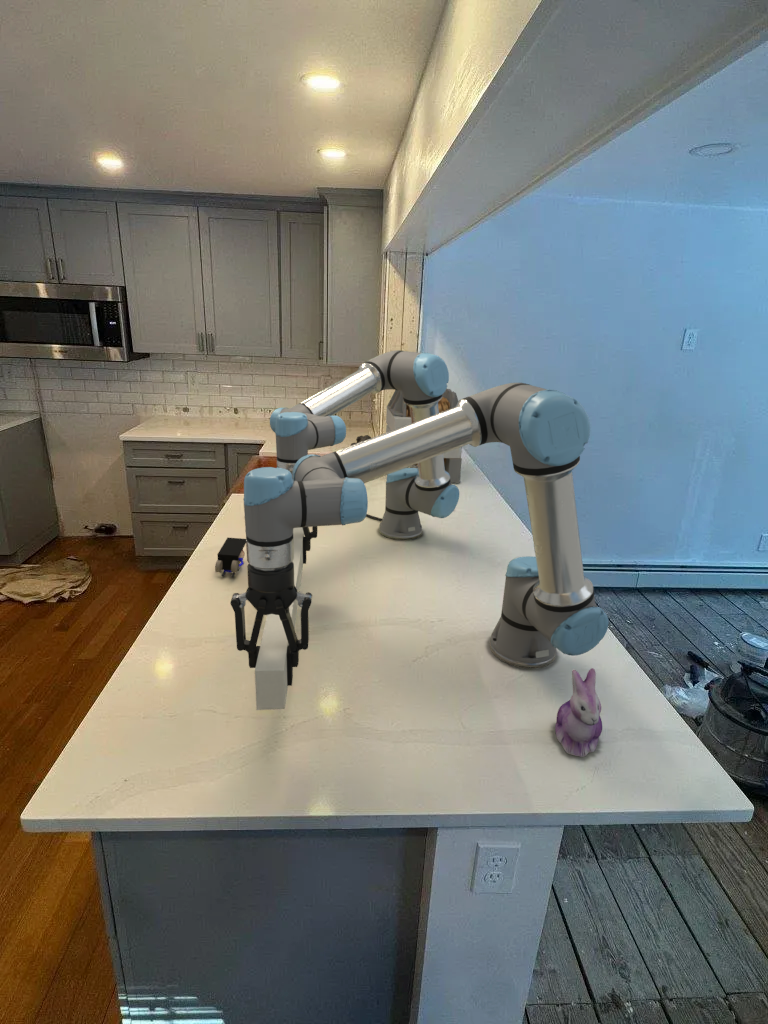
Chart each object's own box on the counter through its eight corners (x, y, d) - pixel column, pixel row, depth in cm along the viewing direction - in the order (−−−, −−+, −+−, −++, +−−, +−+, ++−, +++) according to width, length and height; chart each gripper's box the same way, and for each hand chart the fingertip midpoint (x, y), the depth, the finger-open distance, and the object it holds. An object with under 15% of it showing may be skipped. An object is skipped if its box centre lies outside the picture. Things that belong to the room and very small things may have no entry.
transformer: (382, 463, 289) (386, 382, 275) (445, 464, 293) (451, 384, 279) (390, 482, 257) (394, 392, 243) (460, 483, 261) (468, 394, 247)
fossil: (347, 441, 314) (368, 426, 309) (358, 454, 317) (379, 439, 312) (341, 455, 294) (363, 439, 289) (352, 469, 297) (375, 453, 292)
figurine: (579, 767, 100) (594, 696, 95) (539, 730, 108) (551, 663, 103) (617, 750, 104) (633, 682, 99) (576, 716, 112) (588, 651, 107)
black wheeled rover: (238, 584, 162) (249, 557, 175) (236, 562, 158) (247, 536, 172) (215, 584, 161) (227, 556, 175) (212, 561, 158) (225, 535, 171)
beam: (287, 553, 154) (286, 527, 152) (304, 553, 155) (304, 527, 152) (256, 710, 94) (254, 670, 92) (284, 709, 95) (283, 670, 92)
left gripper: (254, 480, 136) (257, 568, 144) (328, 481, 137) (328, 567, 145) (258, 471, 143) (261, 555, 151) (328, 472, 144) (328, 555, 152)
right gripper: (210, 572, 89) (219, 695, 96) (324, 572, 90) (324, 693, 98) (219, 552, 96) (227, 669, 104) (325, 552, 97) (325, 667, 105)
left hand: (294, 561), depth 148 cm, fingers closed on beam, 5 cm apart
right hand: (274, 680), depth 101 cm, fingers closed on beam, 5 cm apart
